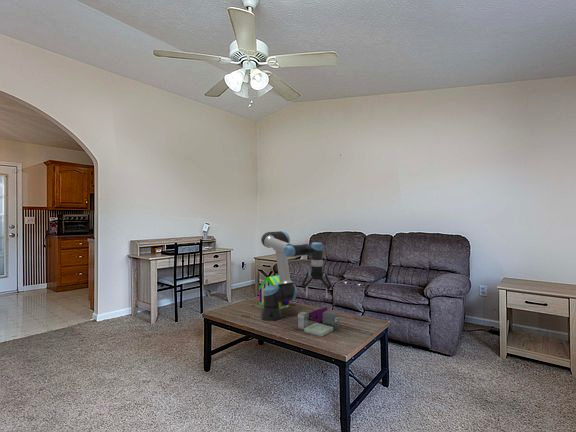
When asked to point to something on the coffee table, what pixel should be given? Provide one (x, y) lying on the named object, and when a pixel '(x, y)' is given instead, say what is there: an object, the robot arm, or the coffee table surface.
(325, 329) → the tray
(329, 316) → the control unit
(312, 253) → the robot arm
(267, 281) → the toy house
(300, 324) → the module
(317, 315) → the mounting bracket
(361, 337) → the coffee table surface
